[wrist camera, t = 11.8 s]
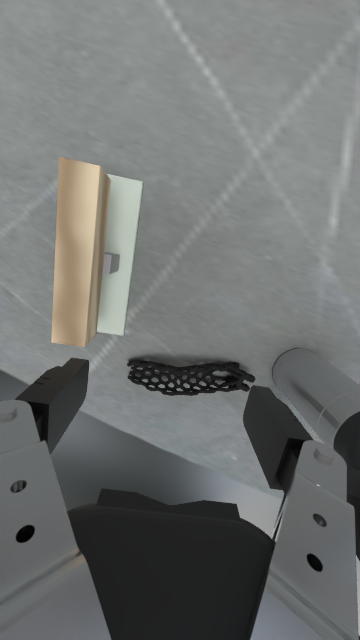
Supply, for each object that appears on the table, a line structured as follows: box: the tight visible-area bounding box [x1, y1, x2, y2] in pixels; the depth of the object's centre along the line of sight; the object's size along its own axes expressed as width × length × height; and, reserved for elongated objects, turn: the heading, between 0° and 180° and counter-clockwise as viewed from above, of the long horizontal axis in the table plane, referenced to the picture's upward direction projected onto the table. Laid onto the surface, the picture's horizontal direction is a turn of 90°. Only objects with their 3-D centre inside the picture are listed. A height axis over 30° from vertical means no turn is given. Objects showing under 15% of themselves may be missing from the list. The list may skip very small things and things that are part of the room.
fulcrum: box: [97, 174, 143, 336], centre depth 34 cm, size 10×24×7 cm, turn 169°
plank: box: [51, 157, 111, 347], centre depth 29 cm, size 4×20×5 cm, turn 169°
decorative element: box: [127, 361, 255, 396], centre depth 42 cm, size 22×5×6 cm, turn 86°
